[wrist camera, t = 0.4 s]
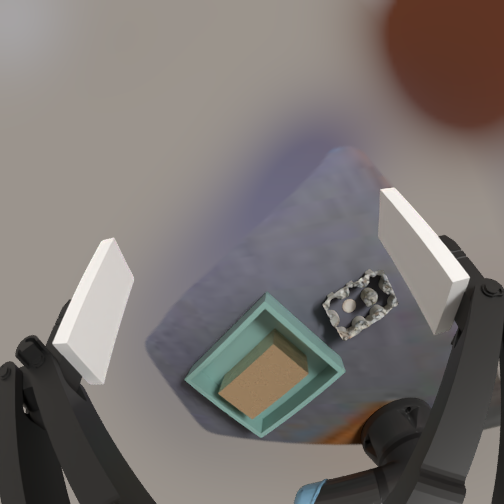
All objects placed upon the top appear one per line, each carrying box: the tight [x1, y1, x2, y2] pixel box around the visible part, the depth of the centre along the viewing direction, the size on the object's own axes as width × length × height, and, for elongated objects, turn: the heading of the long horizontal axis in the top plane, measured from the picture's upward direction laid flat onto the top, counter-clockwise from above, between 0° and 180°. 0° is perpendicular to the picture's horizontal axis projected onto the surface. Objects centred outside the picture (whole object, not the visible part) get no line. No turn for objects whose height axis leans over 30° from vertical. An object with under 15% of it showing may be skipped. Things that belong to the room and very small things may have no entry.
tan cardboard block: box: [218, 328, 309, 419], centre depth 46 cm, size 7×12×6 cm, turn 138°
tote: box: [184, 292, 346, 438], centre depth 47 cm, size 17×19×5 cm
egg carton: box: [323, 269, 399, 341], centre depth 45 cm, size 11×8×4 cm
